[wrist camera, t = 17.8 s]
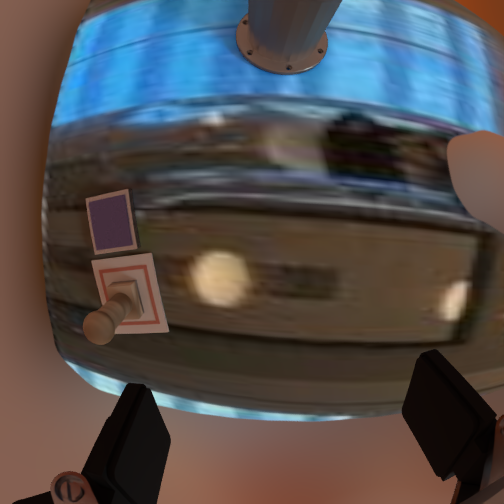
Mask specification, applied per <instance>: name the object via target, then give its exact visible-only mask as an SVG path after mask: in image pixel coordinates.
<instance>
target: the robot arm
mask: <svg viewBox="0 0 504 504" xmlns="http://www.w3.org/2000/svg"><path fill="white" fill-rule="evenodd" d="M341 2H342V0H248V14H246V15H245V16H244V17H243V18H242V19H241V21H240V23H239V24H238V27H237V30H236V41H237V45H238V48H239V51H240V52H241V53H242V55H243V56H244V57H245V58H246V59H247V60H248V61H249V62H250V63H251V64H253V65H254V66H256V67H257V68H260V69H262V70H264V71H267V72H270V73H274V74H280V75H294V74H300V73H303V72H306V71H309V70H310V69H312V68H314V67H315V66H316V65H318V64H319V63H320V61H321V60H322V59H323V57H324V56H325V54H326V51H327V47H328V39H327V35H326V32H325V30H326V28H327V26H328V25H329V23H330V21H331V19H332V17H333V16H334V14H335V12H336V10H337V9H338V7H339V5H340V3H341ZM245 24H246V25H245ZM318 52H319V53H318ZM248 54H251V55H248ZM287 69H290V70H287ZM402 415H403V417H404V419H405V421H406V422H407V424H408V426H409V428H410V429H411V431H412V433H413V435H414V436H415V438H416V440H417V442H418V443H419V445H420V447H421V449H422V451H423V452H424V454H425V456H426V458H427V460H428V461H429V463H430V465H431V467H432V469H433V471H434V472H435V474H436V476H438V477H441V479H442V481H445V480H447V479H449V478H451V477H453V476H454V475H456V477H457V479H458V480H457V484H456V488H455V491H454V494H453V497H452V500H451V503H450V504H504V415H502V416H501V417H499V419H498V420H496V419H495V417H496V416H497V414H496V413H495V412H494V411H493V410H492V409H491V407H490V406H489V405H488V404H487V403H486V402H485V401H484V399H483V398H482V397H481V396H480V395H479V394H478V393H477V392H476V390H475V389H474V388H473V387H472V386H471V385H470V384H469V383H468V382H467V381H466V380H465V378H464V377H463V376H462V375H461V374H460V373H459V372H458V371H457V370H456V369H455V368H454V367H453V366H452V365H451V364H450V363H449V362H448V361H447V359H446V358H445V357H444V356H443V355H442V354H441V353H440V352H439V351H438V350H436V349H433V350H430V351H427V352H423V353H421V355H420V357H419V358H418V359H417V361H416V364H415V368H414V371H413V375H412V378H411V382H410V385H409V388H408V392H407V395H406V398H405V401H404V404H403V407H402ZM170 443H171V439H170V435H169V432H168V430H167V428H166V426H165V423H164V421H163V419H162V416H161V414H160V412H159V409H158V407H157V404H156V402H155V399H154V397H153V394H152V392H151V390H150V389H149V388H146V386H145V385H144V384H136V383H128V384H127V385H126V387H125V389H124V391H123V392H122V394H121V396H120V398H119V400H118V402H117V404H116V406H115V408H114V410H113V412H112V414H111V416H110V417H108V419H107V420H106V422H105V424H104V426H103V428H102V430H101V432H100V434H99V436H98V438H97V440H96V442H95V444H94V446H93V448H92V451H91V453H90V455H89V457H88V459H87V461H86V463H85V466H84V468H83V470H82V472H81V474H79V473H77V472H73V471H67V472H63V473H60V474H58V475H57V476H56V477H55V478H54V479H53V481H52V482H51V488H50V489H51V491H49V492H45V493H43V494H39V495H36V496H33V497H29V498H26V499H21V500H18V501H16V502H14V503H12V504H157V499H158V495H159V491H160V486H161V481H162V477H163V473H164V469H165V465H166V461H167V456H168V452H169V448H170Z"/></svg>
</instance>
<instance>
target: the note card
mask: <svg viewBox="0 0 504 504" xmlns="http://www.w3.org/2000/svg"><path fill="white" fill-rule="evenodd" d="M91 262H92V266H93V270H94V275H95V279H96V283H97V287H98V290H99V294H100V298H101V301H102V305H104V304H105V303H106V302H107V301H108V300H109V298H108V294H107V290H106V287H107V286H108V285H110V284H111V283H112V282H119V281H129V280H137V284H138V288H139V293H140V297H141V301H142V305H143V309H144V313H143V315H142V316H141V317H140V319H134V320H123V321H122V322H121V323H120V325H119V326H118V327H117V328H116V329H115V334H132V333H161V332H169V329H168V325H167V321H166V317H165V313H164V308H163V304H162V300H161V296H160V291H159V286H158V282H157V277H156V272H155V267H154V262H153V257H152V253H145V254H137V255H130V256H122V257H114V258H107V259H99V260H92V261H91Z"/></svg>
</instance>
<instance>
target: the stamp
mask: <svg viewBox="0 0 504 504" xmlns="http://www.w3.org/2000/svg"><path fill="white" fill-rule="evenodd" d="M106 290H107V294H108V298H109V300H108V301H107V302H106V303H105V304H104V305H103V306H102V307H101V308H100V309H99V310H97V311H93V312H91V313H89V314H88V315H87V316H86V318H85V320H84V323H83V330H84V333H85V336H86V337H87V339H88V340H89V341H91V342H92V343H94V344H98V345H103V344H106V343H108V342H110V341H111V340H112V338H113V336H114V334H115V329H116V328H117V327H118V326H119V325H120V323H121V322H122V321H123V320H134V319H140V317H141V316H142V315H143V313H144V309H143V305H142V301H141V297H140V293H139V288H138V284H137V280H129V281H119V282H112V283H111V284H110V285H108V286H107V287H106Z"/></svg>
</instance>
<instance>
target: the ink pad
mask: <svg viewBox="0 0 504 504" xmlns="http://www.w3.org/2000/svg"><path fill="white" fill-rule="evenodd" d="M86 206H87V213H88V219H89V225H90V231H91V237H92V242H93V247H94V252H95V255H96V254H103V253H110V252H117V251H124V250H132V249H138V248H139V247H140V241H139V235H138V229H137V223H136V217H135V210H134V203H133V196H132V189H126V190H121V191H116V192H112V193H108V194H103V195H99V196H95V197H90V198H86Z"/></svg>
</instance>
